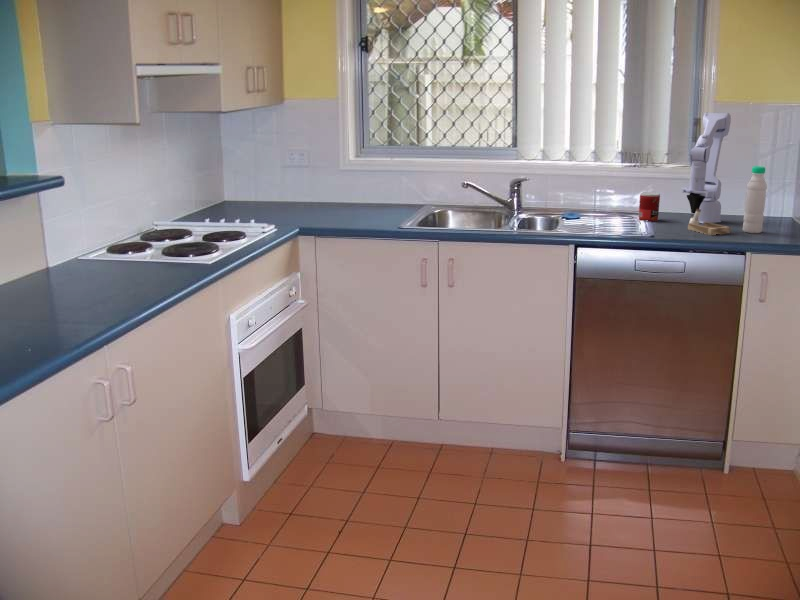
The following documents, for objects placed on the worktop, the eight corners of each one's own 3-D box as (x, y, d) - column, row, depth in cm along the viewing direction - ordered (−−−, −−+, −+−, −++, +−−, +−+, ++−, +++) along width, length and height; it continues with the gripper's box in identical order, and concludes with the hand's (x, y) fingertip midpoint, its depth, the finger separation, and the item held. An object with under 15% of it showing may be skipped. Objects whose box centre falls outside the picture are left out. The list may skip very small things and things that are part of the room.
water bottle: (763, 234, 333) (770, 168, 327) (743, 233, 335) (750, 167, 328) (759, 230, 340) (766, 166, 334) (740, 230, 341) (747, 165, 335)
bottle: (693, 223, 348) (699, 207, 343) (699, 228, 345) (705, 211, 341) (686, 224, 346) (692, 207, 342) (692, 229, 343) (698, 212, 339)
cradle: (706, 228, 345) (706, 221, 345) (729, 233, 334) (730, 227, 333) (687, 229, 342) (688, 223, 341) (710, 235, 331) (711, 228, 330)
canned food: (653, 222, 358) (655, 195, 356) (635, 220, 363) (637, 193, 360) (660, 219, 364) (663, 193, 362) (642, 217, 369) (644, 191, 366)
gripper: (676, 176, 345) (673, 210, 349) (702, 180, 332) (699, 216, 336) (690, 175, 348) (688, 209, 351) (717, 180, 335) (713, 215, 339)
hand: (694, 213), depth 344 cm, fingers closed
